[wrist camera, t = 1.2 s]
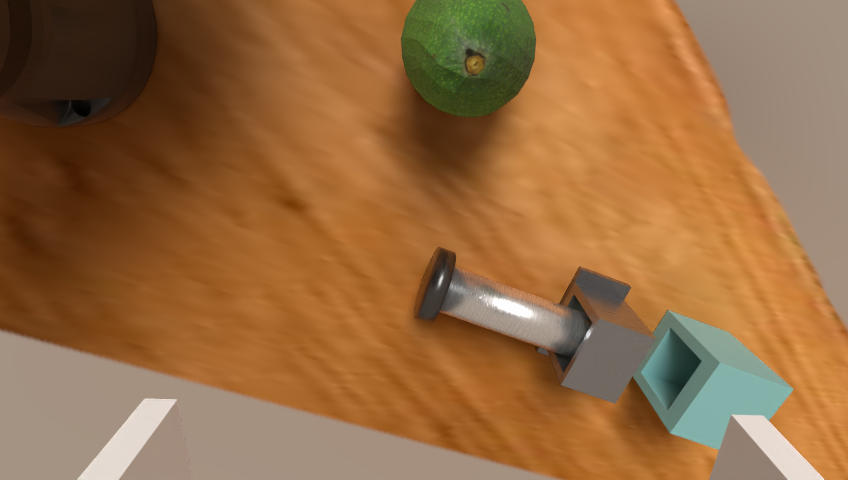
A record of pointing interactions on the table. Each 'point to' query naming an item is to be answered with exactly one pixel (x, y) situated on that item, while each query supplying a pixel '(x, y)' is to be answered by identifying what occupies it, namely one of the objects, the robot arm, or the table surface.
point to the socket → (705, 380)
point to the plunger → (497, 307)
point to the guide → (602, 338)
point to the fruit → (468, 53)
